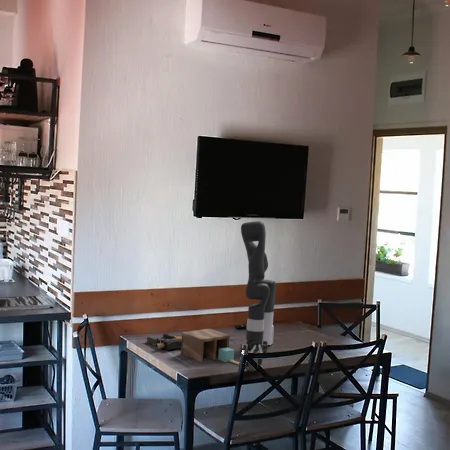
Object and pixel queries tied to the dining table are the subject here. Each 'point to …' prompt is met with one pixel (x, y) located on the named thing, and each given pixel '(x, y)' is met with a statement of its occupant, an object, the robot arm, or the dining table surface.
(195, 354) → the shelf
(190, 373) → the dining table surface
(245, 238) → the robot arm
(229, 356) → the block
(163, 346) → the submachine gun
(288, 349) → the dining table surface
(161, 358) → the dining table surface
